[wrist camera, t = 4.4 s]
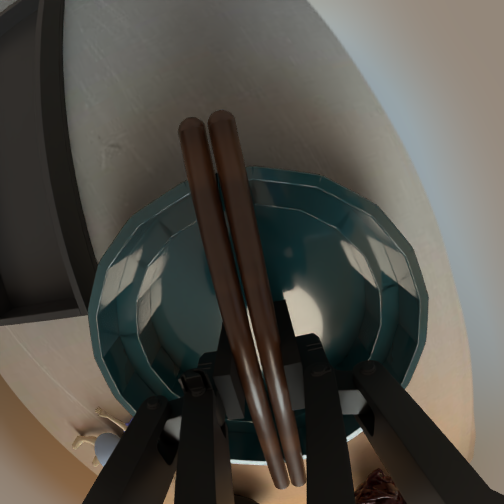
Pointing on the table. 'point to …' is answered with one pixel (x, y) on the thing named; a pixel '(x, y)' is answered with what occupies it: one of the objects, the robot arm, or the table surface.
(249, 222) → the chopsticks
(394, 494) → the figurine
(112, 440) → the fairy figurine
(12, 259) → the tray
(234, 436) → the bowl
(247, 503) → the speaker
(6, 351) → the table surface
